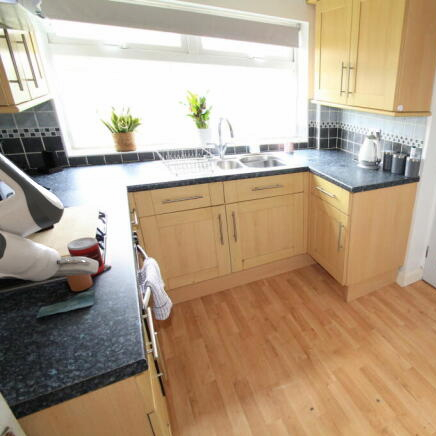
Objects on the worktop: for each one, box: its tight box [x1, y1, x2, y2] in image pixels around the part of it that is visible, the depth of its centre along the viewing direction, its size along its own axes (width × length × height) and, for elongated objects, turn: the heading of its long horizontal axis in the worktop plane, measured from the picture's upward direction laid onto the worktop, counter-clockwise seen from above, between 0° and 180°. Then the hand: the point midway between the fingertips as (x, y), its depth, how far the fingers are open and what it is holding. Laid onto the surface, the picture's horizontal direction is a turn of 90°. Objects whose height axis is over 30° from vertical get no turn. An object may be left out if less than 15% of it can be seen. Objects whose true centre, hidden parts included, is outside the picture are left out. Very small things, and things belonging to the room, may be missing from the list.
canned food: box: [66, 236, 106, 278], centre depth 104 cm, size 8×8×11 cm
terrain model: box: [35, 289, 97, 319], centre depth 89 cm, size 13×8×2 cm, turn 122°
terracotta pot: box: [65, 256, 94, 292], centre depth 97 cm, size 6×6×9 cm
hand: (70, 273), depth 94 cm, fingers open, 8 cm apart
